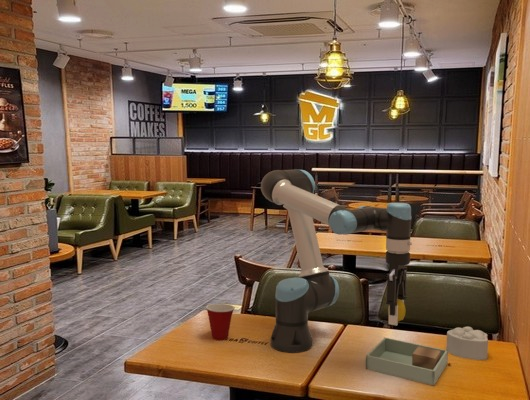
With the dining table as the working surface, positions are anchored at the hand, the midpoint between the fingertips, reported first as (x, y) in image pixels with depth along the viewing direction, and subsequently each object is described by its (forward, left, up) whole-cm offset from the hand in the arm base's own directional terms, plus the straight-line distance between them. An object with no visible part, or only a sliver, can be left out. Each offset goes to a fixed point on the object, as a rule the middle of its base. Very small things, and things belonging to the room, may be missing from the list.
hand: (395, 321), depth 161 cm
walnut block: (+10, 0, -14) cm, 17 cm away
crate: (+4, 0, -15) cm, 15 cm away
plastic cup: (-63, -11, -15) cm, 66 cm away
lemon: (0, 0, -1) cm, 1 cm away
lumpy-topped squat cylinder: (+18, +22, -15) cm, 32 cm away
